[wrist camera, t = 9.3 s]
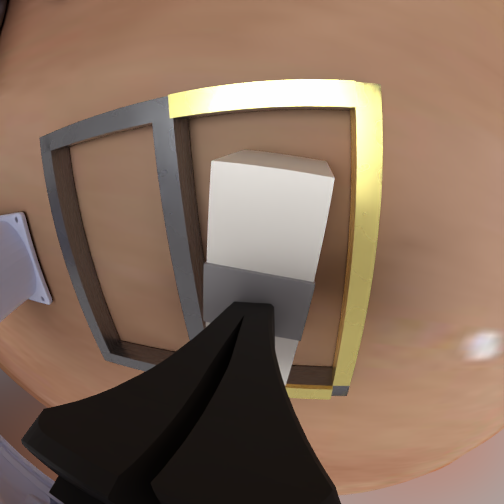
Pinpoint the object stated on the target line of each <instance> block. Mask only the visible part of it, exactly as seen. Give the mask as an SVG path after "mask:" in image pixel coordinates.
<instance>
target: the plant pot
mask: <svg viewBox="0 0 504 504" xmlns="http://www.w3.org/2000/svg"><path fill="white" fill-rule="evenodd" d="M6 3H7V0H0V27H1V24H2V21H3V18H4V14H5V9H6Z"/></svg>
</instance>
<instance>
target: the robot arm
mask: <svg viewBox="0 0 504 504" xmlns="http://www.w3.org/2000/svg"><path fill="white" fill-rule="evenodd" d="M27 299H30V300H33V301H37V302H40V303H44V304H48V305H50V304H51V303H52V298H51V295H50V293H49V290H48V288H47V285H46V282H45V280H44V277H43V274H42V271H41V268H40V265H39V262H38V259H37V256H36V253H35V250H34V247H33V243H32V240H31V236H30V233H29V229H28V225H27V221H26V217H25V215H24V213H23V212H16V213H10V214H5V215H0V322H1V321H2V320H3V319H5V318H6V317H7V316H8V315H9V314H10V313H11V312H13V311H14V310H15V309H16V308H17V307H19V306H20V305H21V304H22V303H23V302H25V301H26V300H27ZM21 441H22V444H23V445H24V446H25V447H26V448H27V449H28V450H29V451H30V452H31V453H32V454H33V455H34V456H36V457H37V458H38V459H39V460H40V461H41V462H42V463H44V464H45V465H46V466H47V467H49V468H50V469H51V470H52V471H54V472H55V473H56V474H58V475H59V476H58V478H57V479H56V481H53V480H52V479H50V478H49V477H48V476H46V475H45V474H44V473H43V472H41V471H40V470H38V469H37V468H36V467H35V466H34V465H32V464H31V463H30V462H29V461H27V460H26V459H25V458H24V457H23V456H22V455H21V454H19V453H18V452H17V451H16V450H15V449H14V448H13V447H12V446H11V445H10V444H9V443H8V442H7V441H6V440H5V439H4V438H3V437H2V436H1V435H0V504H341V503H340V500H339V497H338V494H337V490H336V487H335V485H334V484H333V482H332V481H331V479H330V477H329V476H328V474H327V473H326V471H325V470H324V468H323V466H322V465H321V463H320V461H319V460H318V458H317V456H316V454H315V452H314V451H313V449H312V447H311V445H310V443H309V441H308V440H307V437H306V435H305V433H304V431H303V429H302V427H301V425H300V422H299V420H298V418H297V416H296V414H295V412H294V409H293V407H292V404H291V401H290V399H289V396H288V394H287V391H286V388H285V385H284V382H283V379H282V375H281V372H280V368H279V364H278V360H277V356H276V351H275V319H274V306H273V305H272V304H268V303H250V302H235V301H234V302H233V303H232V304H231V305H230V306H228V307H227V308H226V309H225V310H224V311H223V312H222V313H221V314H220V315H219V316H218V317H217V318H216V319H214V320H213V321H212V322H211V323H210V324H209V325H208V326H207V327H206V328H204V329H203V330H202V331H201V332H200V333H199V334H198V335H196V336H195V337H194V338H193V339H192V340H190V341H189V342H188V343H187V344H185V345H184V346H183V347H181V348H180V349H179V350H178V351H176V352H175V353H174V354H172V355H171V356H169V357H168V358H167V359H165V360H164V361H162V362H161V363H159V364H157V365H156V366H154V367H152V368H151V369H149V370H148V371H146V372H144V373H142V374H140V375H138V376H136V377H134V378H132V379H130V380H128V381H126V382H124V383H122V384H120V385H118V386H116V387H114V388H112V389H109V390H107V391H104V392H102V393H99V394H97V395H94V396H91V397H88V398H85V399H82V400H79V401H76V402H72V403H68V404H64V405H60V406H56V407H51V408H46V409H44V410H43V411H42V412H41V414H40V415H39V416H38V418H37V419H36V420H35V422H34V423H33V424H32V426H31V427H30V428H29V430H28V431H27V433H26V434H25V435H24V437H23V438H22V439H21Z"/></svg>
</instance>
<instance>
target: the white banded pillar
mask: <svg viewBox="0 0 504 504" xmlns="http://www.w3.org/2000/svg"><path fill="white" fill-rule="evenodd" d="M334 180H335V177H334V175H333V173H332V171H331V169H330V167H329V165H328V163H327V161H323V160H318V159H312V158H306V157H300V156H293V155H286V154H279V153H272V152H264V151H256V150H247V149H244V150H241V151H238V152H235V153H232V154H229V155H226V156H223V157H221V158H218V159H215V160H212V161H211V176H210V193H209V213H208V237H207V261H206V262H205V263H204V275H203V321H205V322H206V327H207V326H208V325H209V324H210V323H211V322H212V321H213V320H214V319H216V318H217V317H218V316H219V315H220V314H221V313H222V312H223V311H224V310H225V309H226V308H227V307H228V306H230V305H231V304H232V303H233V302H234V301H235V302H250V303H268V304H272V305H273V306H274V319H275V351H276V356H277V360H278V364H279V368H280V372H281V375H282V379H283V382H284V385H285V386H286V382H287V379H288V376H289V372H290V369H291V366H292V362H293V359H294V355H295V352H296V348H297V345H298V341H301V337H302V334H303V330H304V326H305V323H306V319H307V315H308V311H309V307H310V303H311V300H312V296H313V292H314V287H315V281H314V278H315V274H316V270H317V265H318V261H319V256H320V252H321V247H322V242H323V238H324V233H325V228H326V223H327V218H328V213H329V207H330V202H331V197H332V191H333V185H334Z"/></svg>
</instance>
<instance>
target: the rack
mask: <svg viewBox="0 0 504 504" xmlns="http://www.w3.org/2000/svg"><path fill="white" fill-rule="evenodd" d="M298 109H322V110H350V118H351V203H350V224H349V240H348V253H347V265H346V275H345V285H344V294H343V302H342V310H341V317H340V324H339V331H338V338H337V344H336V350H335V356H334V362H333V367H309V366H291V369H290V372H289V376H288V379H287V382H286V386H285V388H286V391H287V394H288V396H289V398H302V399H331V396H347V393H348V390H349V386H350V382H351V379H352V375H353V371H354V367H355V363H356V359H357V355H358V351H359V347H360V342H361V338H362V333H363V328H364V324H365V319H366V313H367V308H368V302H369V297H370V291H371V285H372V278H373V271H374V264H375V256H376V248H377V239H378V229H379V218H380V205H381V189H382V159H383V130H382V102H381V86H380V84H371V83H359V82H355V81H349V80H318V79H306V80H275V81H260V82H248V83H238V84H230V85H222V86H215V87H208V88H201V89H196V90H190V91H184V92H179V93H174V94H170V95H168V96H166V97H162V98H157V99H153V100H149V101H145V102H141V103H137V104H133V105H129V106H126V107H122V108H119V109H116V110H112V111H109V112H106V113H103V114H100V115H97V116H94V117H91V118H88V119H85V120H82V121H79V122H77V123H74V124H71V125H69V126H66V127H64V128H61V129H59V130H56V131H54V132H52V133H49V134H47V135H45V136H42V137H40V147H41V155H42V163H43V169H44V176H45V182H46V187H47V192H48V198H49V202H50V207H51V212H52V216H53V220H54V224H55V228H56V232H57V236H58V239H59V243H60V247H61V250H62V253H63V257H64V260H65V263H66V266H67V269H68V272H69V275H70V278H71V281H72V284H73V287H74V289H75V292H76V295H77V298H78V300H79V303H80V305H81V308H82V310H83V313H84V315H85V318H86V320H87V322H88V325H89V327H90V329H91V331H92V334H93V336H94V338H95V340H96V342H97V345H98V347H99V349H100V351H101V353H102V355H103V357H104V359H105V360H106V361H110V362H113V363H116V364H120V365H123V366H127V367H131V368H134V369H138V370H142V371H148V370H149V369H151V368H152V367H154V366H156V365H157V364H159V363H161V362H162V361H164V360H165V359H167V358H168V357H169V356H171V355H172V354H174V353H175V352H173V351H167V350H162V349H157V348H152V347H147V346H142V345H137V344H133V343H128V342H124V341H120V339H119V336H118V334H117V331H116V329H115V326H114V324H113V321H112V319H111V316H110V313H109V311H108V308H107V305H106V302H105V300H104V297H103V294H102V291H101V288H100V285H99V282H98V279H97V275H96V272H95V269H94V266H93V262H92V259H91V255H90V252H89V248H88V244H87V240H86V237H85V233H84V229H83V224H82V220H81V216H80V211H79V206H78V201H77V196H76V191H75V186H74V180H73V174H72V167H71V160H70V153H69V146H72V145H75V144H78V143H82V142H85V141H89V140H92V139H95V138H99V137H103V136H107V135H110V134H114V133H118V132H122V131H127V130H131V129H135V128H140V127H145V126H149V125H152V126H153V137H154V146H155V155H156V164H157V172H158V180H159V187H160V194H161V201H162V208H163V214H164V220H165V226H166V232H167V238H168V243H169V249H170V254H171V259H172V264H173V269H174V274H175V279H176V284H177V288H178V293H179V297H180V302H181V306H182V311H183V315H184V319H185V323H186V327H187V331H188V335H189V339H190V340H192V339H193V338H194V337H195V336H196V335H198V334H199V333H200V332H201V331H202V330H203V329H204V328H206V322H205V321H203V275H204V263H205V262H204V255H203V248H202V241H201V234H200V226H199V218H198V210H197V202H196V194H195V185H194V176H193V167H192V157H191V146H190V135H189V124H188V119H189V118H196V117H203V116H211V115H220V114H229V113H240V112H252V111H268V110H298Z"/></svg>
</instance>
